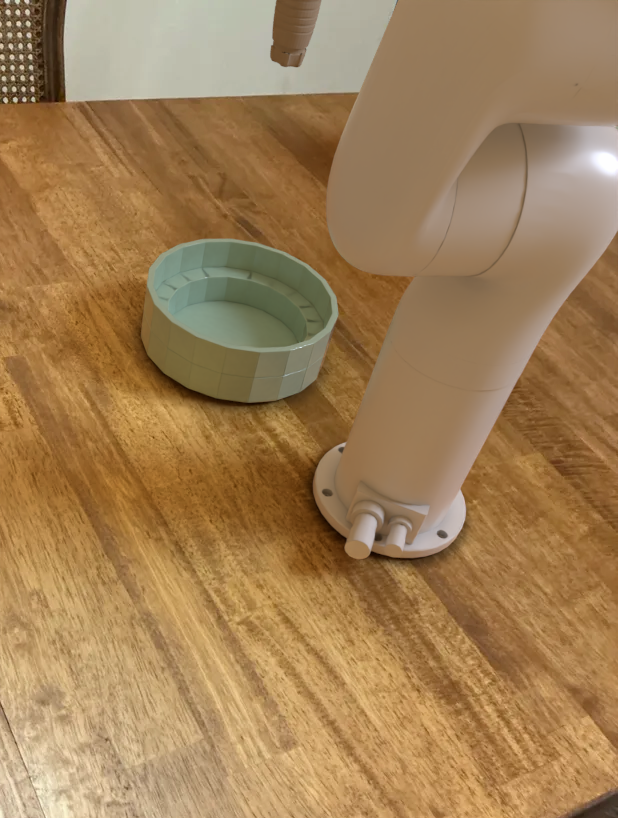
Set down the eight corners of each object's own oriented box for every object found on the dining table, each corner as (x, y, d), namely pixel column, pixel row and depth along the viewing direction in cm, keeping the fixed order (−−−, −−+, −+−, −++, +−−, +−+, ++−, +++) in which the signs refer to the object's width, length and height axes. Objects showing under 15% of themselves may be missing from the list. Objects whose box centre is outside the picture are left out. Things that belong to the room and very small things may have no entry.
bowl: (293, 430, 76) (310, 376, 72) (111, 365, 78) (116, 308, 73) (340, 328, 87) (356, 275, 83) (179, 273, 89) (187, 219, 85)
